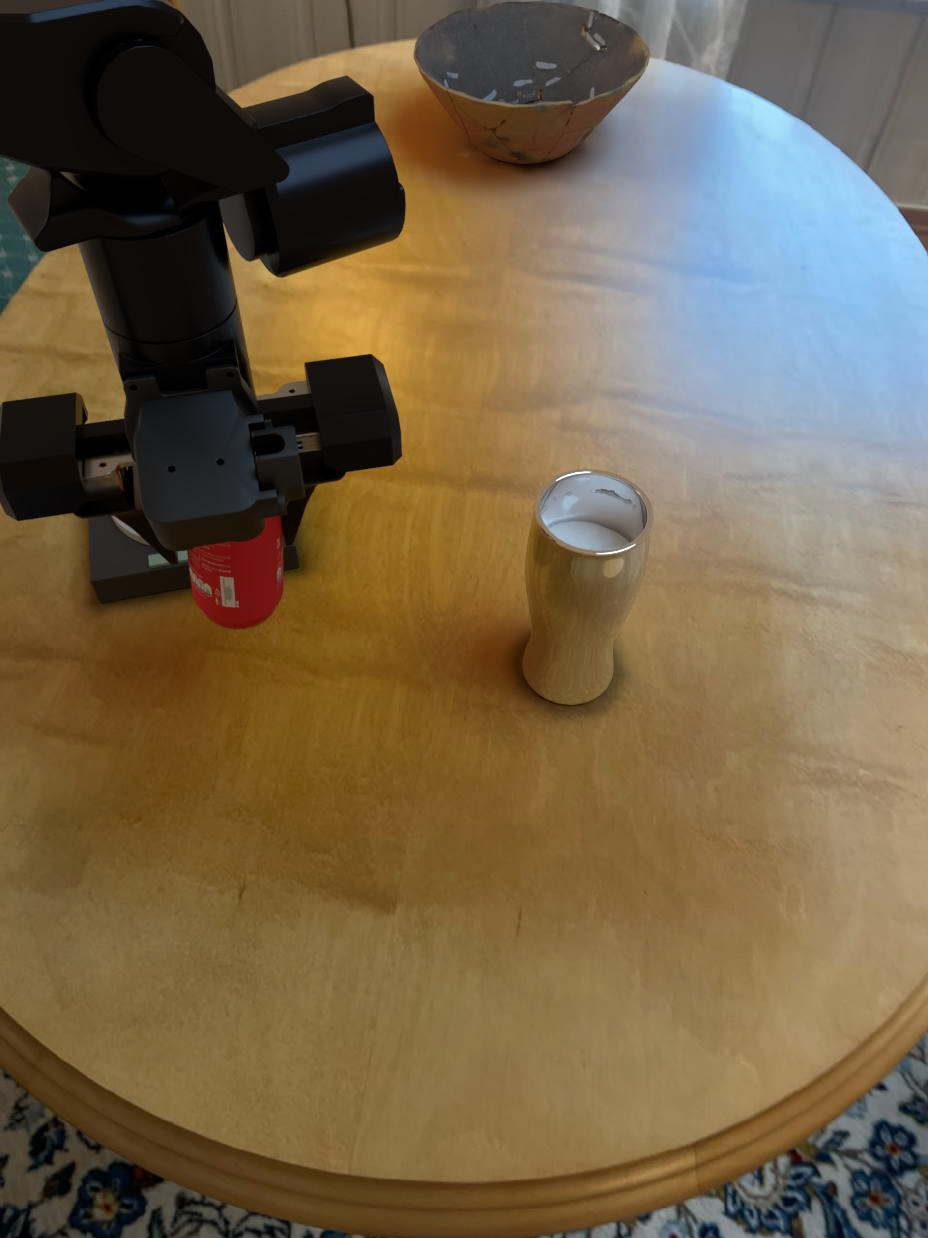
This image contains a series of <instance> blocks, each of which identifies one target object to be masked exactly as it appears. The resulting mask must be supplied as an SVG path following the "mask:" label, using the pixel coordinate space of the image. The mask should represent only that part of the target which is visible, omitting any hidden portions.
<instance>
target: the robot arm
mask: <svg viewBox="0 0 928 1238" xmlns="http://www.w3.org/2000/svg"><path fill="white" fill-rule="evenodd" d="M215 75H216V74H215V69H214V62H213V59H212V56H211V54H210V51H209V49H208V47H207V45H206V42H205V41H204V38H203V36H202V34H201V33H200V32H199V30H198V29H197V28H196V27H195V26H194V24H193V23H192V22H191V21H190V20H189V19H188V18H187V16H185V14H184V13H183V12H182V11H181V10H179V9H178V8H177V7H176V6H175V5H174V4H173V3H171V1H169V0H0V158H3V159H5V160H9V161H13V162H16V163H20V164H23V165H27V166H30V167H29V168H28V171H27V173H26V174H25V175H23V177H22V178H21V179H20V180H18V182H17V183H16V185H15V186H14V188H13V189H12V191H10V193H9V194H8V196H7V198H6V206H7V208H8V210H9V211H10V212H11V214H12V215H13V216H14V218H15V220H16V221H17V222H18V224H19V225H20V227H21V228H22V230H23V231H24V232H25V234H26V236H28V238H29V239H30V241H31V243H32V244H33V245H34V247H35V248H36V249H37V250H38V251H40V252H43V253H50V252H53V251H54V252H55V251H58V250H60V249H63V248H68V247H70V246H74V245H77V246H78V249H79V252H80V255H81V258H82V262H83V264H84V267H85V271H86V274H87V277H88V280H89V283H90V287H91V290H92V292H93V296H94V299H95V303H96V305H97V309H98V312H99V314H100V317H101V320H102V324H103V327H104V330H105V334H106V335H107V339H108V343H109V346H110V349H111V353H112V355H113V358H114V361H115V365H116V367H117V370H118V373H119V376H120V377H119V378H120V380H121V383H122V389H123V392H124V396H125V404H124V410H123V418H117V419H110V420H103V421H96V422H89V423H87V422H88V420H89V416H88V415H89V414H88V413H89V411H88V409H87V406H86V404H85V401H84V398H83V396H82V394H80V393H78V392H76V391H75V392H67V393H61V394H60V393H59V394H52V395H45V396H37V397H29V398H22V399H21V398H20V399H14V400H7V401H2V402H1V404H0V506H1V507H2V510H3V512H4V513H5V516H7V517H9V518H11V519H13V520H15V521H17V522H22V521H29V520H37V519H43V518H49V517H56V516H63V515H70V514H73V515H74V516H75V517H76V518H79V519H82V520H86V519H87V520H88V519H89V518H96V517H105V516H114V517H116V518H117V519H119V520H120V521H122V522H123V523H125V524H126V525H128V526H129V527H130V528H132V529H133V530H134V531H135V532H136V533H137V534H138V535H140V536H141V537H142V538H143V539H144V540H145V541H146V542H147V543H148V544H149V545H150V546H151V547H153V548H154V549H155V550H156V551H157V552H158V553H159V554H160V555H161V556H162V557H163V558H164V559H166V560H167V561H168V562H169V563H170V564H171V565H173V564H178V563H179V560H178V551H186V550H191V549H193V548H195V547H200V546H206V545H213V544H219V543H225V542H244V541H249V540H252V539H254V538H256V537H257V536H259V535H260V534H261V533H262V532H263V530H264V528H265V525H266V518H271V517H277V516H280V515H281V516H282V527H283V535H284V540H285V545H286V546H292V545H293V544H294V541H295V542H296V537H297V535H298V532H299V529H300V525H301V522H302V520H303V516H304V513H305V510H306V508H307V506H308V503H309V501H310V498H311V497H312V496H313V493H314V491H315V489H316V488H317V486H319V485H323V484H328V483H333V482H338V481H339V482H340V481H341V480H343V479H344V478H345V476H346V474H347V473H353V472H358V471H364V470H371V469H372V470H373V469H377V468H378V469H379V468H383V467H384V468H385V467H392V466H395V464H396V463H397V462H398V461H399V460H400V459H401V458H402V457H403V448H402V447H403V446H402V445H403V444H402V428H401V422H400V416H399V411H398V408H397V405H396V402H395V399H394V394H393V392H392V388H391V385H390V382H389V381H390V380H389V378H388V374H387V372H386V368H385V364H384V363H383V362H382V361H380V360H379V359H378V358H377V357H376V356H374V355H373V354H372V353H365V354H359V355H351V356H343V357H337V358H329V359H327V358H326V359H321V360H314V361H305V362H304V364H303V367H304V375H305V380H297V381H290V382H286V383H284V384H282V385H281V386H280V387H279V388H278V390H277V391H276V392H274V393H273V392H272V393H267V394H265V393H264V394H259V395H257V394H256V390H255V384H254V379H253V374H252V368H251V362H250V357H249V352H248V347H247V341H246V337H245V331H244V326H243V320H242V315H241V310H240V304H239V299H238V295H237V289H236V284H235V279H234V273H233V268H232V262H231V257H230V253H229V252H230V251H229V246H228V242H227V237H226V234H227V235H228V238H229V240H230V241H231V243H232V245H233V247H234V249H235V250H236V252H237V253H238V254H239V256H240V257H241V258H242V259H243V260H244V261H246V262H249V263H251V262H255V261H257V260H260V262H261V263H262V264H263V267H265V269H266V270H267V271H268V272H269V273H270V274H272V275H273V276H275V277H276V278H280V279H283V278H286V277H289V276H293V275H295V274H298V273H301V272H304V271H307V270H310V269H313V268H316V267H319V266H322V265H325V264H328V263H332V262H334V261H337V260H341V259H343V258H347V257H349V256H352V255H355V254H358V253H361V252H364V251H367V250H370V249H373V248H377V247H379V246H382V245H385V244H388V243H391V242H394V241H395V240H397V239H398V238H399V237H400V235H401V234H402V231H403V230H404V225H405V221H406V210H407V204H406V203H407V202H406V201H407V200H406V191H405V187H404V185H403V184H402V183H401V182H400V180H399V175H398V171H397V167H396V164H395V161H394V158H393V154H392V152H391V149H390V148H389V144H388V142H387V140H386V138H385V136H384V134H383V132H382V131H381V129H380V126H379V124H378V123H377V122H376V112H375V111H376V110H375V96H374V95H373V94H372V93H371V92H370V91H368V90H367V89H366V88H365V87H363V86H362V85H360V84H359V83H358V82H356V81H355V80H354V79H353V78H351V77H350V76H349V75H343V76H339V77H335V78H332V79H327V80H325V81H322V82H320V83H318V84H317V85H314V86H313V87H310V88H309V89H307V90H304V91H302V92H298V93H295V94H291V95H286V96H283V97H279V98H276V99H272V100H267V101H263V102H260V103H256V104H252V105H248V106H244V107H241V106H240V105H239V104H238V103H237V102H236V101H235V100H234V99H233V98H232V97H231V96H230V95H229V94H227V92H226V91H225V90H223V89H222V88H221V87H220V86H219V85H217V81H216V77H215ZM255 454H256V456H255Z"/></svg>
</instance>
